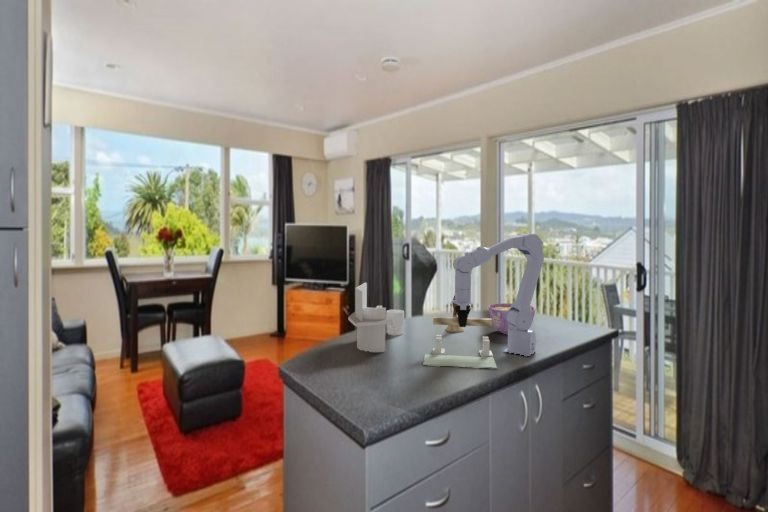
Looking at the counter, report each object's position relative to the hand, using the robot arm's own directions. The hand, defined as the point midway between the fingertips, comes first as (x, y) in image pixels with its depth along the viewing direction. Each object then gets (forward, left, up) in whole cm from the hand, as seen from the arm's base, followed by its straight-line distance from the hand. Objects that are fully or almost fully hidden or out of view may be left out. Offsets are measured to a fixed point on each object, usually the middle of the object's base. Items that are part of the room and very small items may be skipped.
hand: (462, 325), depth 152 cm
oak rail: (0, 0, 0) cm, 0 cm away
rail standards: (0, 0, -10) cm, 10 cm away
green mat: (-4, +10, -10) cm, 15 cm away
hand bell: (+20, -30, -11) cm, 38 cm away
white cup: (+37, -8, -11) cm, 39 cm away
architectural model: (+34, +14, -11) cm, 38 cm away
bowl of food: (-2, -41, -11) cm, 42 cm away
